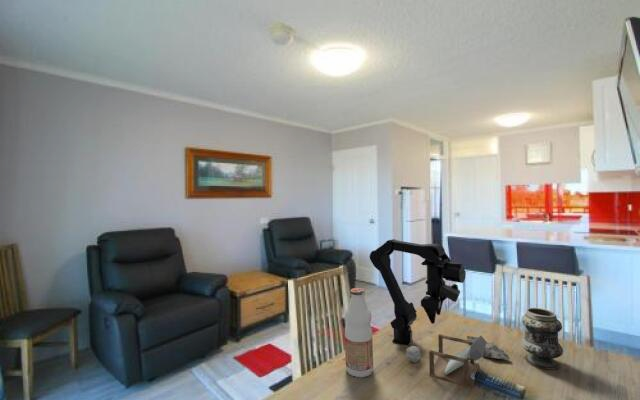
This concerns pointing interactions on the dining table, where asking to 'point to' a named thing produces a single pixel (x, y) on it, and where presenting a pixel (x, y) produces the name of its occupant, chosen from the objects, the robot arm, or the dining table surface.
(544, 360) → the apothecary jar
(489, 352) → the mineral rock
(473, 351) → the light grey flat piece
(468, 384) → the stand
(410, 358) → the garlic
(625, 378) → the dining table surface
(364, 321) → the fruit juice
